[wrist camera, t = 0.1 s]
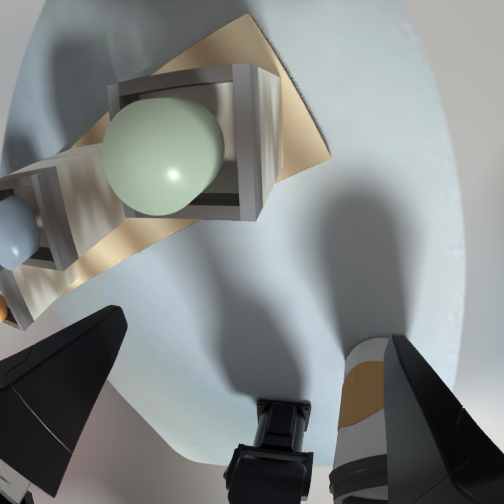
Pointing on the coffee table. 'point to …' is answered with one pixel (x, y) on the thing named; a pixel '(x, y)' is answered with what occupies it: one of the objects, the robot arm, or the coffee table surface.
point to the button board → (202, 207)
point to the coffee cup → (362, 429)
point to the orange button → (2, 310)
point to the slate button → (17, 232)
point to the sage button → (162, 153)
